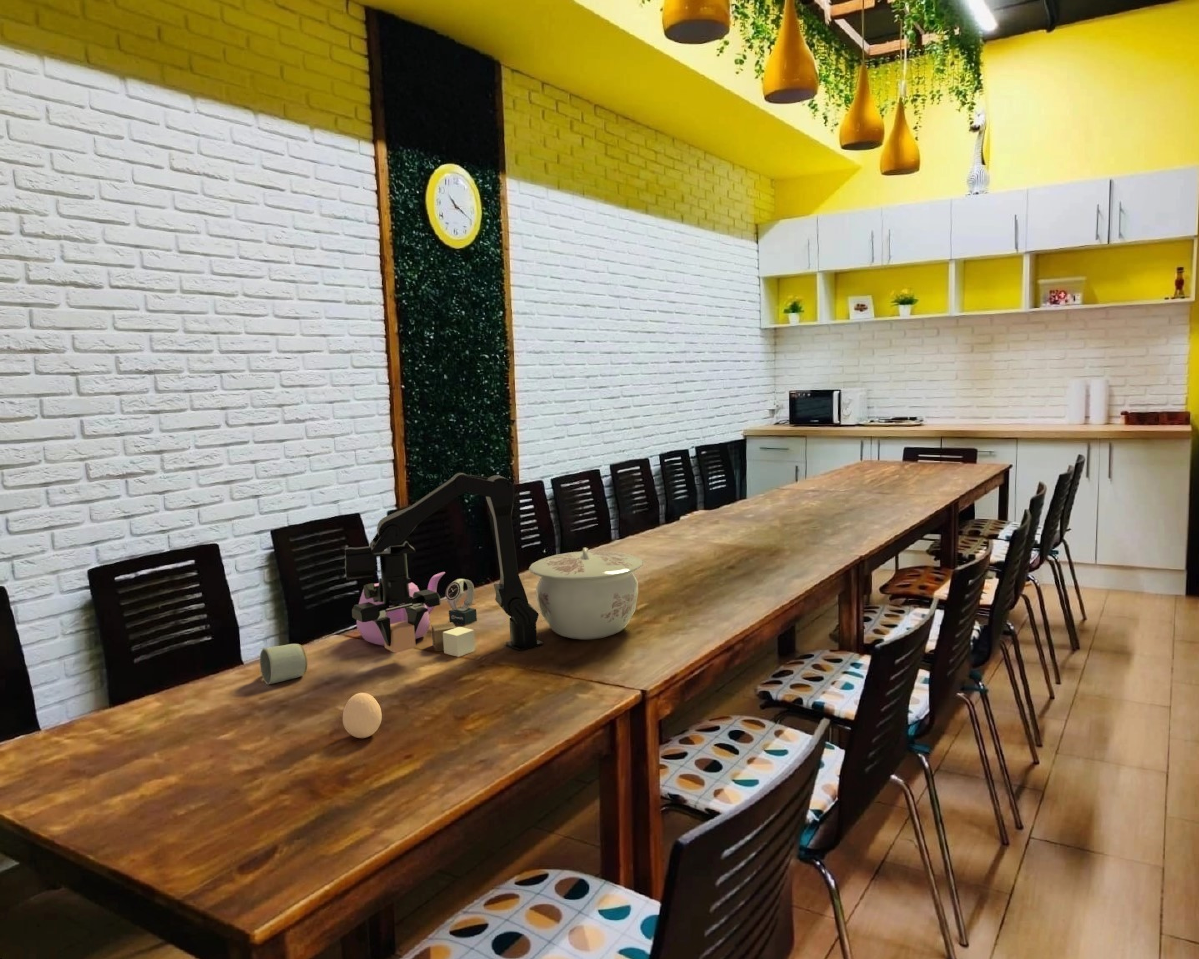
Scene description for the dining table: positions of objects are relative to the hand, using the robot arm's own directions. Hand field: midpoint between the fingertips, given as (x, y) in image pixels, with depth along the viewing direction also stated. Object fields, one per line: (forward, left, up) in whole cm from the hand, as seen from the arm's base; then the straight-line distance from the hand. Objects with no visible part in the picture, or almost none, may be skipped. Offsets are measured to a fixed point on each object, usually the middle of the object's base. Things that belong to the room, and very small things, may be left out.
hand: (399, 642), depth 191 cm
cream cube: (-3, -13, -5) cm, 14 cm away
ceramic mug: (+10, +23, -5) cm, 26 cm away
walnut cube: (+3, -13, -5) cm, 14 cm away
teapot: (+19, -8, -5) cm, 21 cm away
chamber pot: (-13, -43, -5) cm, 45 cm away
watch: (+18, -26, -5) cm, 32 cm away
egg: (-32, +23, -5) cm, 40 cm away
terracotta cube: (0, 0, -1) cm, 1 cm away
